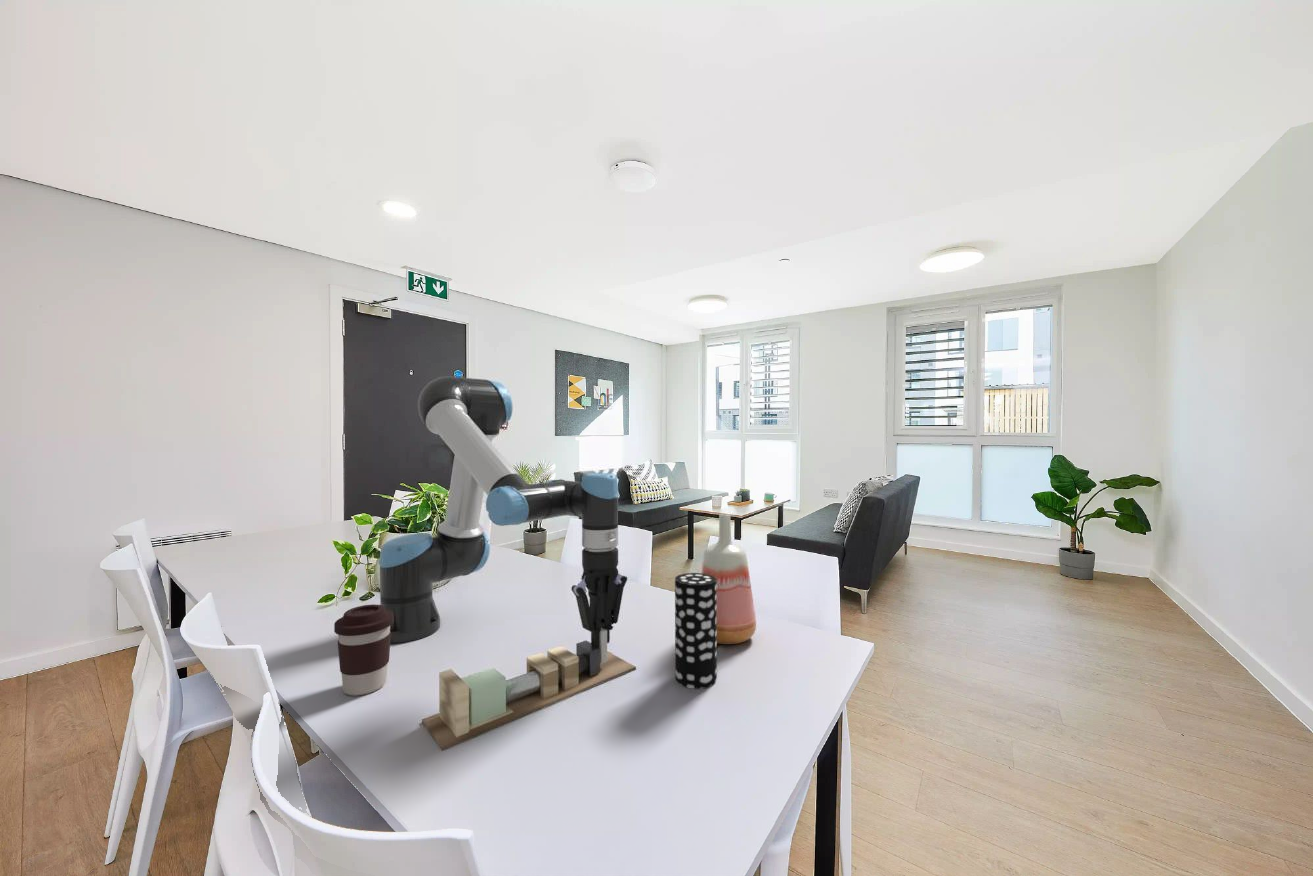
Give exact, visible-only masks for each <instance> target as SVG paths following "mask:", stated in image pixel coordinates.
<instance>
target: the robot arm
mask: <svg viewBox="0 0 1313 876" xmlns="http://www.w3.org/2000/svg"><path fill="white" fill-rule="evenodd" d="M513 407H514V405H513V400H512V396H511V394H510V393H509V390H508V388H507V387H506V386H505V385H504V384H502V383H501V382H499V381H495V380H489V379H483V378H471V377H459V376H452V375H450V376H449V375H446V376H439V377H437V378H435V379H433V380H430V381H429V382H428V383H427V384H426V385H425V386H424V387H423V389H422V390H421V392H420V393H419V396H418V400H417V409H418V410H417V411H418V414H419V418H420V419H421V422H422V423H423V424H424V425H425V427H426V428H427V429H428V430H429V432H431V433H433V434H435V435H439V437H440V438H441V439H442V440H443V442H444V443H445V444H446V446H447V447H448V448H449V449H450V450H451V452H452V453H453V454H454V458H453V464H452V472H451V476H450V477H451V478H450V485H449V491H448V499H447V505H446V510H445V511H446V513H445V519H444V521H443V522H441V523H439V525H438V526H437V531H436V536H432V534H430V533H428V532H416V533H410V534H405V535H401V536H396V537H395V538H391V539H390V540H387V541H386V542H385V543H384V544H383V545H382V546H381V547H380V554H379V563H378V564H379V589H380V591H379V593H380V596H379V598H380V600H379V602H380V603H379V605H382V606H384V607H385V609H386V610H389V611H391V612H393V614H394V622H393V623H392V624H391V625H390V631H391V640H390V644H398V643H399V644H400V643H406V642H412V641H415V640H419V639H422V638H426V637H427V636H430V635H432V634H434V633H436V632H437V631H438V630H439V629H440V627H441V617H440V616H441V615H440V613H439V611H438V608H437V606H436V602H435V600H434V597H433V584H434V583H438V582H439V583H440V582H442V581H447V580H451V579H454V578H458V577H462V576H463V577H465V576H469V575H470V574H472V573H475V572H478V571H480V570H481V569H482V568H483V567H485V565H486V564H487V563H488V560H489V556H490V552H491V551H490V550H491V545H490V543H489V540H490V539H489V537H488V535H487V534H486V532H485V531H484V527H483V526H482V525H481V524H480V519H481V512H482V505H483V501H484V500H483V498H484V494H486V495H487V497H486V500H485V510H486V512H488V515H487V516H488V518H489V520H490V522H492V523H493V524H494V525H496V526H498V527H499V526H500V527H504V526H506V527H507V526H516V525H518V526H519V525H521V524H524V523H529V522H534V521H535V522H536V521H540V520H546V519H551V518H552V519H553V518H557V517H558V518H559V517H565V516H570V517H578V518H581V546H582V547H583V549H581V565H582V569H583V570H582V574H581V578H580V579H581V580H580V582H579V583H578V584H577V585H576V584H573V585H572V586H571V591H572V592H573V594H574V596H575V599H576V604H577V607H578V612H579V616H580V617H579V618H580V621H581V627H582V628H583V629H584V630H586V631H588V632H590V643H592V644H594V645H596V646H597V647H599V648H600V663H601V664H602V663H604V662H607V651H608V644H609V643H610V638H611V635H610V634H611V633H610V632H611V631H612V630H613V629H614V624H618V621H619V616H620V610H621V606H622V605H621V604H622V599H623V593H624V588H625V586H626V583H627V581H628V576H626V575H622V574H621V573H619V570H618V566H619V549H618V548H617V547H618V545H619V522H618V521H619V517H618V516H619V496H620V492H619V485H618V484H619V483H618V478H617V475H615V474H614V473H610V472H609V473H608V472H607V473H606V472H604V473H603V472H602V473H601V472H592V473H584V474H583V475H582V477H581V481H577V480H576V481H574V480H565V479H561V478H560V479H549V480H547V481H545V482H541V483H540V482H539V483H528V482H527V481H526V480H525V479H524V478H523V477H522V476H521V475H520V473H518V471H517V470H516V469H515V468H514V466H513V465H512V464H511V463H510V462H509V460H507V458H506V457H505V456H504V455H503V454H502V452H500V451H499V449H498V448H497V447H496V446H495V444H493V442H492V440H494V438H496V437H498V436H499V435H500V429H501V426H504V425H506V424H507V423H508V422H509V421H510V420H511V418H512V415H513ZM587 592H588V593H587ZM588 597H589V599H588Z"/></svg>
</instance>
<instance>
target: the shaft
mask: <svg viewBox="0 0 1313 876" xmlns="http://www.w3.org/2000/svg"><path fill="white" fill-rule="evenodd" d="M575 646H576V647H575V649H576V651H575V652H576V653H575V655H576V656H578V660H579V675H580V674H583V673H585V674H587V675H589V676H593V675H595V674H598V673H600V648H599V647H597V646H596V645H594V644H592V643H591V641H588V640H586V639H585V640H583V641H579V642H577V643H576V645H575ZM557 664H558V683H560V682H562V665H561V664H560V663H558V662H557ZM539 690H541V675H540V672H539V671H538V670H535V671H532V672H529V673H527V672H525V673H524V674H521V675H518V676H515V677H512V678H510V679H506V703H508V702H511V701H514V700H516V699H519V698H521V697H524V696H526V695H529V694H532V693H534V692H537V691H539Z"/></svg>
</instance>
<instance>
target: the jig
mask: <svg viewBox="0 0 1313 876" xmlns="http://www.w3.org/2000/svg"><path fill="white" fill-rule="evenodd" d="M546 653H547V656H546V655H545V654H543V653H542V652H537V653H535V654H532V655H529V656H527V657H526V673H529V672H532V671H535V670H538V671H539V672H540V675H541V690H539V691H537V692H534V693H532V694H529V695H526V696H524V697H521V698H519V699H516V700H514V701H511V702H508V703H506V712H504V713H502V714H499V715H497V716H494V717H492V718H489V719H487V720H484V721H482V722H479V723H477V724H474V725H471V724H470V723H469V686H468V685H467V684H466V683H465V682H464V681H463V680H462V679H461V678H462V677H460V676H459V675H458V674H457V673H456V672H455V671H454V670H453V669H452V668H449V669H447V670H443V671H440V672H438V673H439V678H438V679H439V682H438V684H439V686H438V687H439V689H438V691H439V694H438V695H439V696H438V699H439V702H438V703H439V707H438V709H439V711H438V713H436V714H432V715H430V716H428V717H424V718H422V719H421V721H422V724H423V726H424V727H425V728H426V730H427V731H428V732H429V734H430V735H431V736H432V738H433V739H434V741H435V742H436V743H437V745H438V746H439V747H440V749H441V750H442V751H444V750H447V749H449V748H450V747H451V748H452V747H453V746H456V745H458V744H460V743H463V742H466V741H467V740H470V739H472V738H475V737H477V736H479V735H482V734H485V733H486V732H489V731H491V730H494V729H497V728H499V727H502V726H503V725H506V724H508V723H510V722H513V721H516V720H518V719H521V718H522V717H525V716H527V715H530V714H532V713H535V712H537V711H539V710H540V711H541V709H544V708H546V707H549V706H551V705H554V704H556V703H559V702H561V701H564V700H565V699H568V698H570V697H573V696H575V695H578V694H580V693H582V692H585V691H587V690H590V689H592V688H594V687H597V686H599V685H601V684H603V683H606V682H609V681H611V680H614V679H615V678H618V677H620V676H622V675H626V674H628V673H631V672H633V671H635V670H636V669H637V666H635V665H634V664H632V663H630V662H628V661H626V660H624V659H622V658H621V657H619V656H617V655H615V654H613V653H611V652H609V651H608V650H607V662H604V663H602V664H601V663H600V673H598V674H595V675H593V676H589V675H587V674H585V673H583V674H580V675H579V660H578V656H576V653H575V654H574V653H573V652H571V651H570V650H568V649H566V648H565V647H563V646H561V645H559V646H556V647H554V648H550V649H547V652H546ZM557 662H558V663H560V664H561V665H562V682H560V683H558V664H557Z"/></svg>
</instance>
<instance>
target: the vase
mask: <svg viewBox="0 0 1313 876" xmlns="http://www.w3.org/2000/svg"><path fill="white" fill-rule="evenodd" d="M718 518H719V519H718V541H717V542H716V543H714V544H712V545H709V546H708V547H706V548H705V549H704V552H703V556H702V564H701V573H703V574H708V575H712V576H714V577H715V578H716V579H717V644H720V645H736V644H740V643H743V642H744V643H745V642H746V641H748V640H749V639H751V638H752V637H753V636H754V634H755V633H756V630H757V619H756V618H757V617H756V610H755V604H754V598H753V590H752V583H751V577H750V571H749V564H748V557H747V553H746V551H745V549H744V548H742V547H741V546H740V545H737V544H735V543H733V541H732V531H731V529H732V527H731V526H732V525H731V524H732V523H731V514H730V513H719V517H718Z"/></svg>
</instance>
